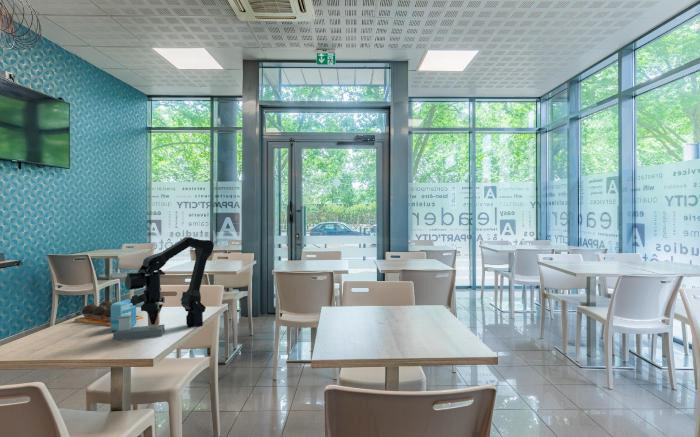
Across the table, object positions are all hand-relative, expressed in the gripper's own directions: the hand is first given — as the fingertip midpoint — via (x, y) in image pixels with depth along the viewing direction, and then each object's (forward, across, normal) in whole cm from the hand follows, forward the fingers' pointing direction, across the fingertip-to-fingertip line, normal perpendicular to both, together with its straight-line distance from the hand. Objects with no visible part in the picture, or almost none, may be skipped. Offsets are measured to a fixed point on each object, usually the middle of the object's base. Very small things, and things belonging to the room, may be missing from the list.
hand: (153, 323), depth 179 cm
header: (+5, 0, -6) cm, 7 cm away
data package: (+5, -17, -16) cm, 24 cm away
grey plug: (+5, 0, -11) cm, 12 cm away
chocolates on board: (+5, -38, -27) cm, 47 cm away
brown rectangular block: (+4, 0, 0) cm, 4 cm away
